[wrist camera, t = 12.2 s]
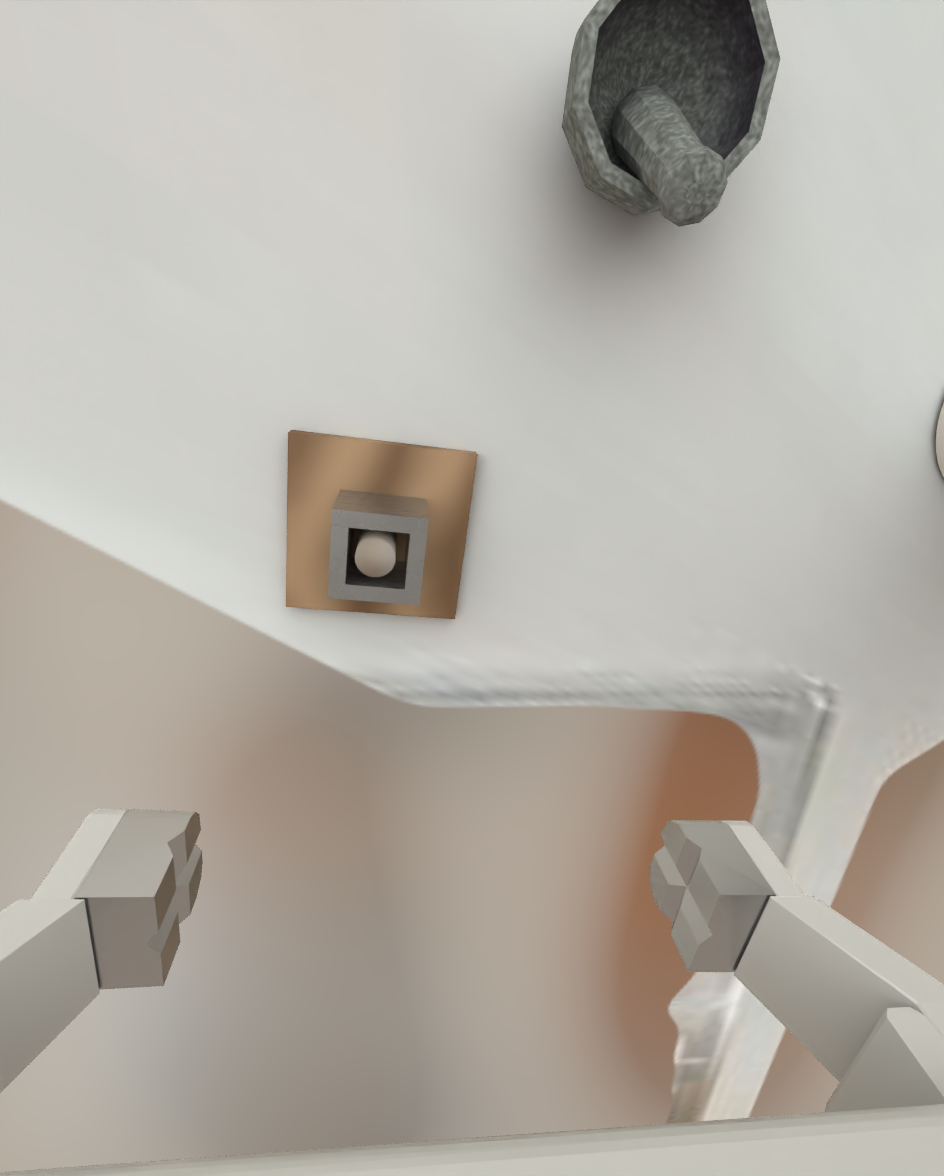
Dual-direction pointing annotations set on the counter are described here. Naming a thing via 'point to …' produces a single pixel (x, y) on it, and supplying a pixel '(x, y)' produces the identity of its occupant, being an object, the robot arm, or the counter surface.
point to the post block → (386, 470)
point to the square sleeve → (380, 516)
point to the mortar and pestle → (668, 100)
